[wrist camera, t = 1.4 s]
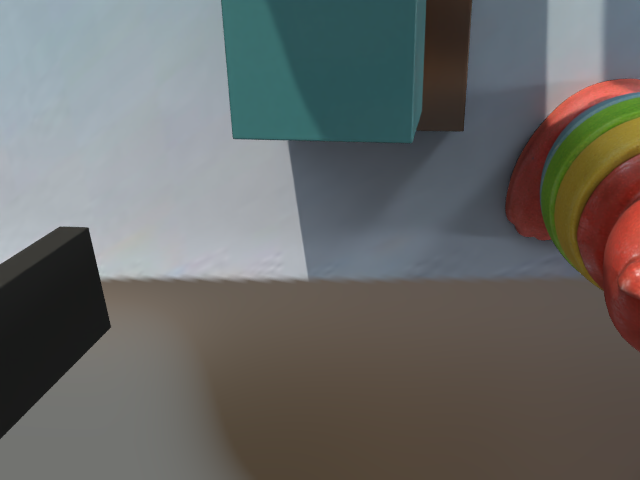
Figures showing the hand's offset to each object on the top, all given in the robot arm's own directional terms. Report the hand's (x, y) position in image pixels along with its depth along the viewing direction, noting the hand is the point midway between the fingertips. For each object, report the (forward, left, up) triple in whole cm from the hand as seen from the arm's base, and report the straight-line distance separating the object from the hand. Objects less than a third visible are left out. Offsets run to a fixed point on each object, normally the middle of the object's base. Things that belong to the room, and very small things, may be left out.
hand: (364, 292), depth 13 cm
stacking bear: (+4, +11, -25) cm, 28 cm away
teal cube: (-4, -3, -16) cm, 17 cm away
